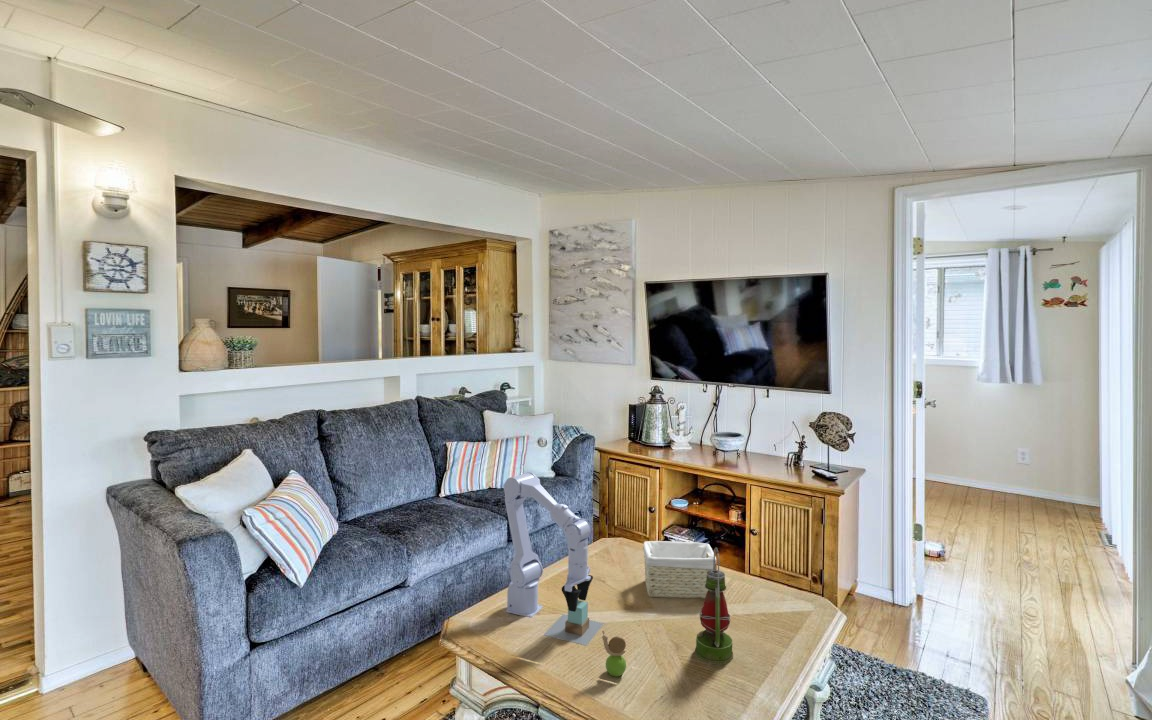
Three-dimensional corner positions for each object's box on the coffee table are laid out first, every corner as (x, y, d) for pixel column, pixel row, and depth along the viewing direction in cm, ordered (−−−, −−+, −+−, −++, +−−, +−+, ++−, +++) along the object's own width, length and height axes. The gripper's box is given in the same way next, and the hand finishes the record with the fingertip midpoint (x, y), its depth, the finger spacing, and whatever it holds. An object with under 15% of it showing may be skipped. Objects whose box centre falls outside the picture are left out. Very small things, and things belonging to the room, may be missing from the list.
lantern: (692, 639, 175) (694, 539, 174) (729, 641, 174) (731, 541, 173) (697, 666, 162) (700, 558, 160) (737, 668, 161) (740, 560, 159)
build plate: (543, 636, 177) (543, 635, 177) (562, 615, 189) (563, 614, 189) (586, 646, 171) (586, 645, 171) (604, 624, 184) (604, 623, 184)
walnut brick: (565, 632, 178) (565, 622, 178) (572, 623, 183) (572, 614, 183) (582, 636, 176) (582, 626, 176) (589, 627, 181) (589, 617, 181)
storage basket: (707, 581, 216) (708, 541, 215) (717, 601, 200) (718, 558, 199) (641, 579, 216) (642, 539, 216) (645, 600, 200) (646, 557, 199)
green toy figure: (600, 669, 160) (601, 626, 159) (624, 668, 160) (624, 625, 160) (603, 681, 155) (603, 636, 154) (627, 680, 155) (628, 635, 154)
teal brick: (567, 621, 178) (568, 605, 178) (574, 615, 182) (574, 599, 182) (581, 625, 177) (581, 608, 176) (587, 618, 181) (587, 602, 180)
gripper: (580, 572, 170) (580, 618, 171) (599, 554, 183) (598, 597, 184) (558, 568, 173) (557, 613, 174) (578, 550, 186) (577, 593, 187)
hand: (577, 605), depth 179 cm, fingers open, 7 cm apart
